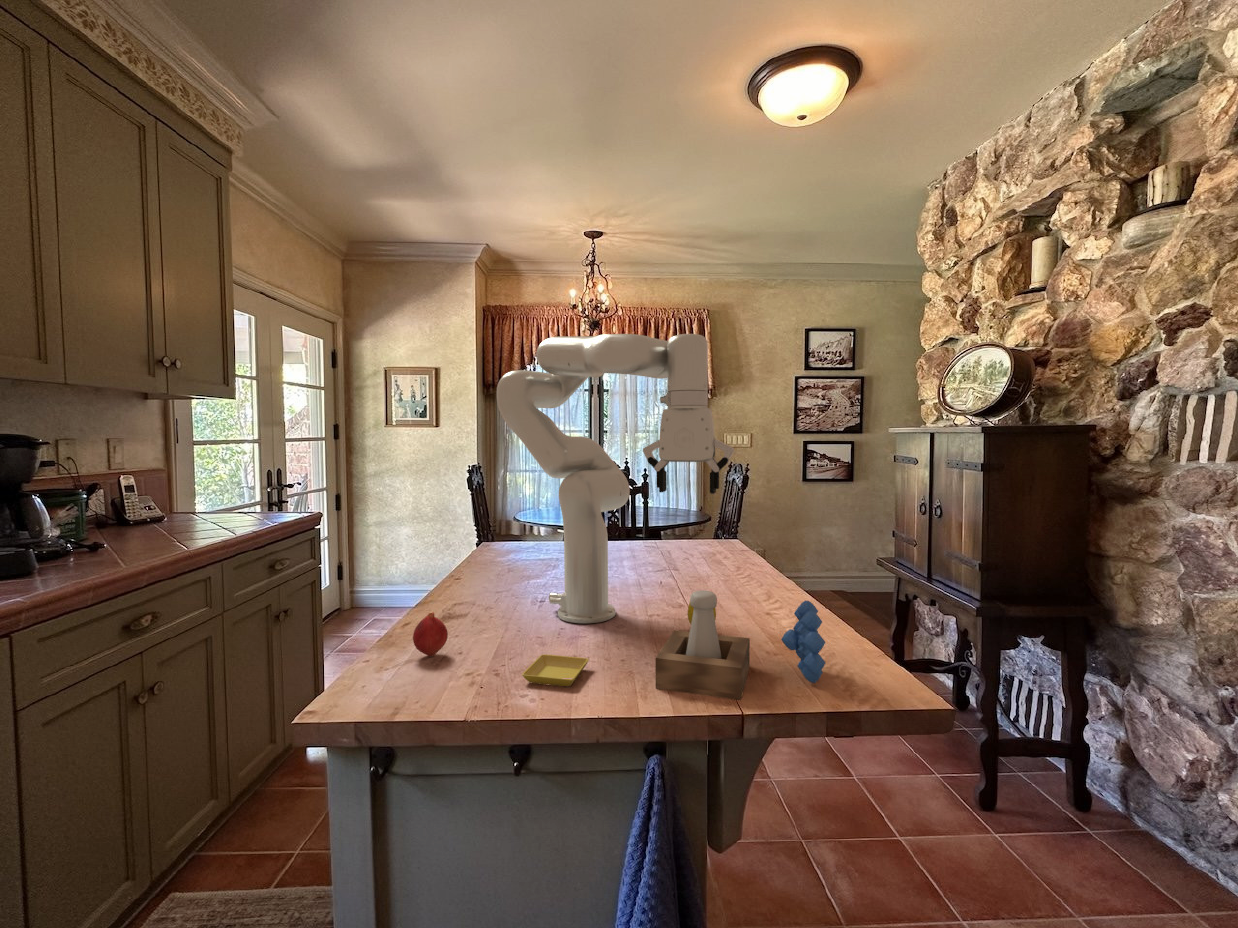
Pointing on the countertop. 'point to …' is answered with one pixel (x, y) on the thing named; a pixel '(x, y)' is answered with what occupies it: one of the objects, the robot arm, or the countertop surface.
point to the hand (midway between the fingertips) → (687, 492)
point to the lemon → (690, 613)
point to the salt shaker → (703, 626)
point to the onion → (430, 635)
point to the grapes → (807, 641)
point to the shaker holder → (703, 667)
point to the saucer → (555, 670)
